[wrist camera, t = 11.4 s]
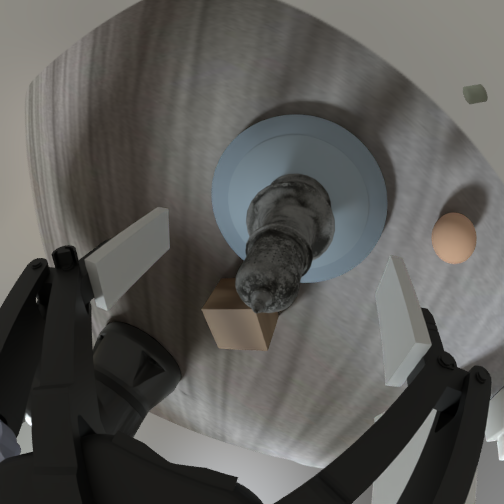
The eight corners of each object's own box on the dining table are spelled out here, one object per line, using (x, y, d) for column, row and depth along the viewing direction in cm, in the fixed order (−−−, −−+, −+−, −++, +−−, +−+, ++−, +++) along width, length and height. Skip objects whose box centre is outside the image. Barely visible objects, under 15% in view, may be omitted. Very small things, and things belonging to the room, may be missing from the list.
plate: (214, 255, 27) (208, 263, 26) (222, 105, 20) (216, 105, 19) (358, 289, 24) (358, 298, 23) (402, 137, 17) (406, 139, 16)
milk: (416, 431, 34) (405, 562, 12) (374, 417, 34) (350, 572, 12) (472, 398, 27) (478, 547, 6) (435, 379, 27) (434, 567, 6)
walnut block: (234, 315, 30) (218, 348, 26) (221, 278, 28) (201, 309, 24) (278, 315, 29) (267, 350, 24) (268, 275, 26) (254, 309, 22)
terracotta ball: (419, 242, 21) (432, 267, 17) (434, 199, 18) (451, 218, 15) (455, 253, 20) (471, 278, 16) (471, 212, 18) (491, 232, 14)
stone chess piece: (258, 167, 20) (177, 238, 10) (338, 173, 19) (342, 256, 9) (259, 237, 23) (198, 346, 13) (331, 245, 22) (319, 368, 12)
